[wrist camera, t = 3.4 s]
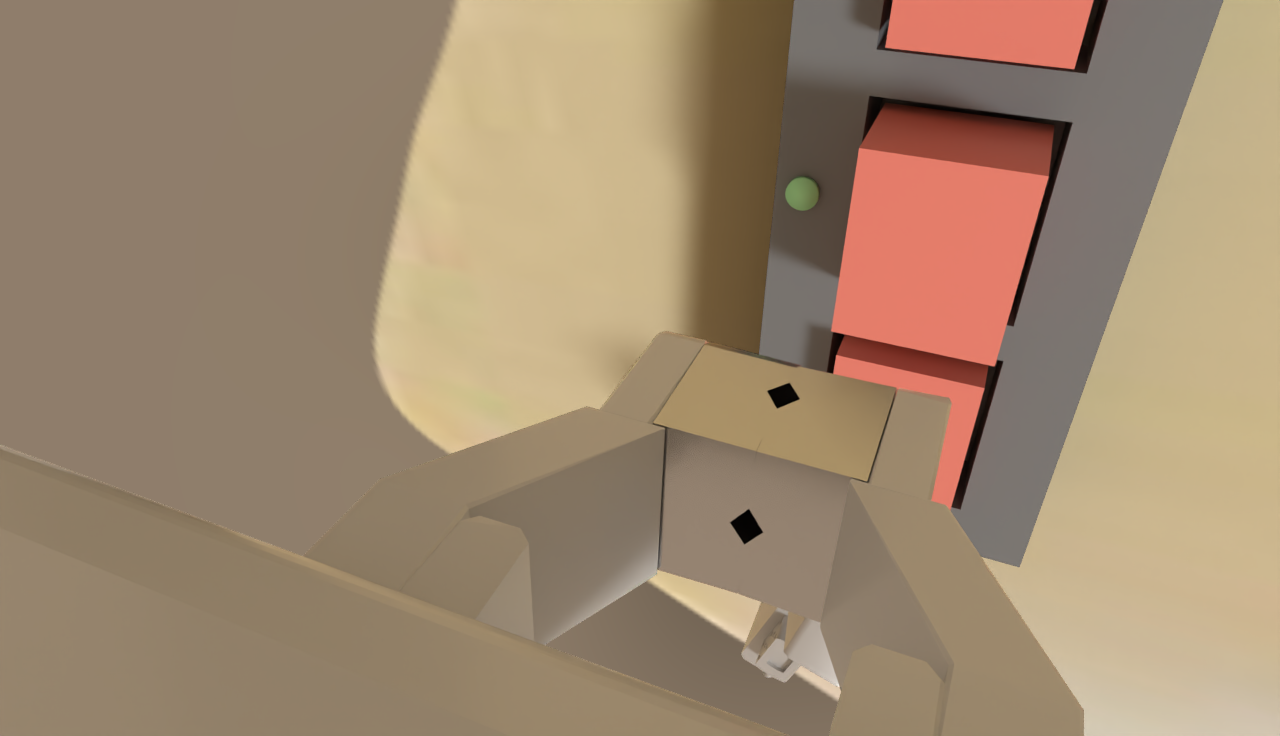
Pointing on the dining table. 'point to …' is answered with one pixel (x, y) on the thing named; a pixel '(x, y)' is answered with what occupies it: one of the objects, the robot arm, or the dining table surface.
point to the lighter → (787, 645)
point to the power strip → (1064, 230)
